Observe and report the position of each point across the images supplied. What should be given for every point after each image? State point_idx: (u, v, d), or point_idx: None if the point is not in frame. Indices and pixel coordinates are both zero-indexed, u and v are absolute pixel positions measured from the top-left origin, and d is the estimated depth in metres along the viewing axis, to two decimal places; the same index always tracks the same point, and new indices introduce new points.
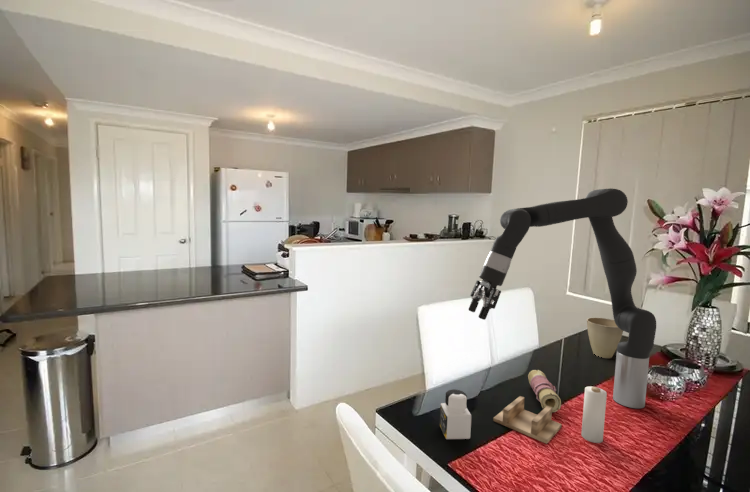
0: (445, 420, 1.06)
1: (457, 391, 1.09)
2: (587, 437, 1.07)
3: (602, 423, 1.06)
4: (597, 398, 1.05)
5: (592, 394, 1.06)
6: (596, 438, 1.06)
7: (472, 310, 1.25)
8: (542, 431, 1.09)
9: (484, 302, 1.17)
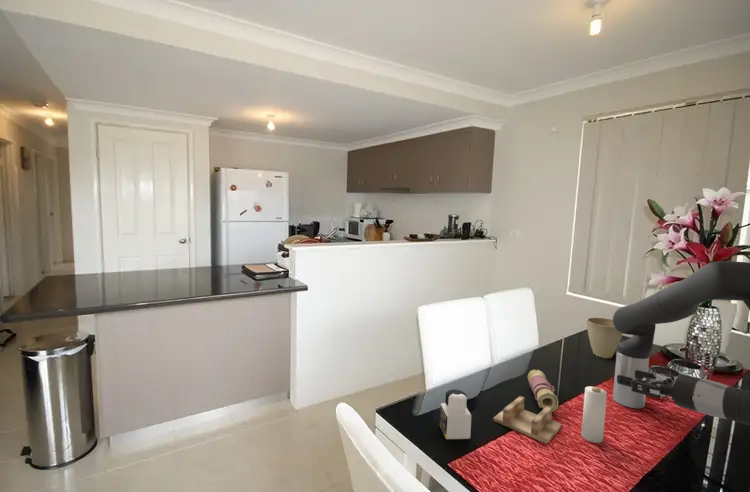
0: (445, 420, 1.06)
1: (457, 391, 1.09)
2: (587, 437, 1.07)
3: (602, 423, 1.06)
4: (598, 398, 1.05)
5: (592, 394, 1.06)
6: (596, 438, 1.06)
7: None
8: (542, 431, 1.09)
9: None
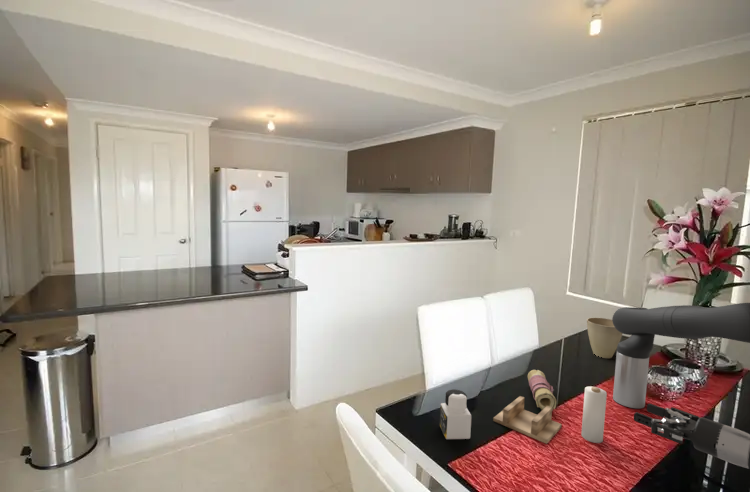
0: (445, 420, 1.06)
1: (457, 391, 1.09)
2: (587, 437, 1.07)
3: (602, 423, 1.06)
4: (597, 398, 1.05)
5: (592, 394, 1.06)
6: (596, 438, 1.06)
7: None
8: (542, 431, 1.09)
9: None
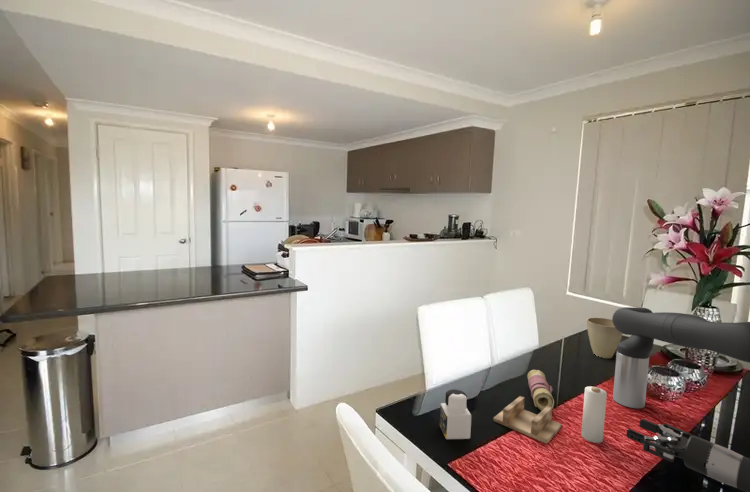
0: (445, 420, 1.06)
1: (457, 391, 1.09)
2: (587, 437, 1.07)
3: (602, 423, 1.06)
4: (597, 398, 1.05)
5: (592, 394, 1.06)
6: (596, 438, 1.06)
7: None
8: (542, 431, 1.09)
9: None
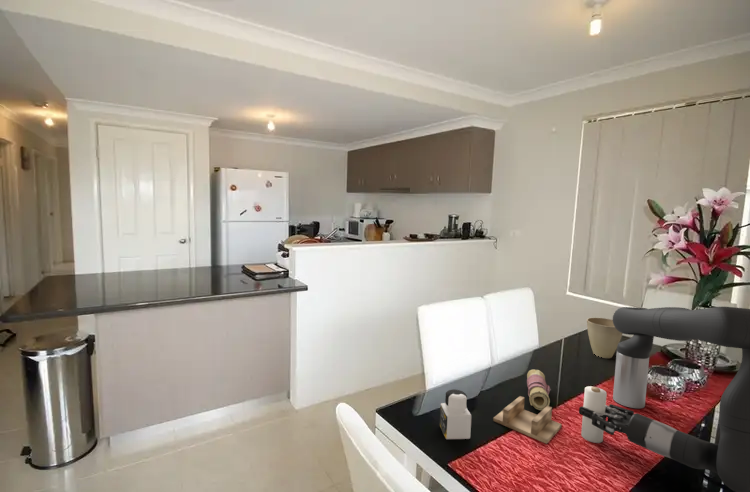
0: (445, 420, 1.06)
1: (457, 391, 1.09)
2: (587, 437, 1.07)
3: None
4: (597, 398, 1.05)
5: (592, 394, 1.06)
6: (596, 438, 1.06)
7: None
8: (542, 431, 1.09)
9: None
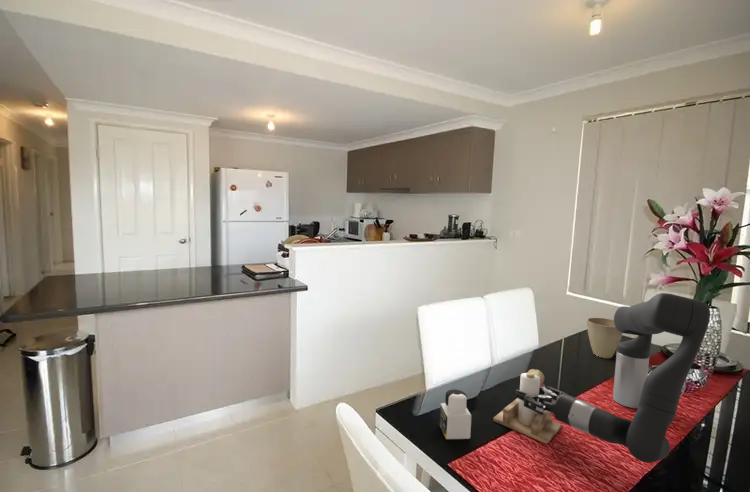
0: (445, 420, 1.06)
1: (457, 391, 1.09)
2: (522, 421, 1.13)
3: None
4: (530, 383, 1.11)
5: (526, 380, 1.12)
6: (530, 422, 1.12)
7: None
8: (542, 431, 1.09)
9: None
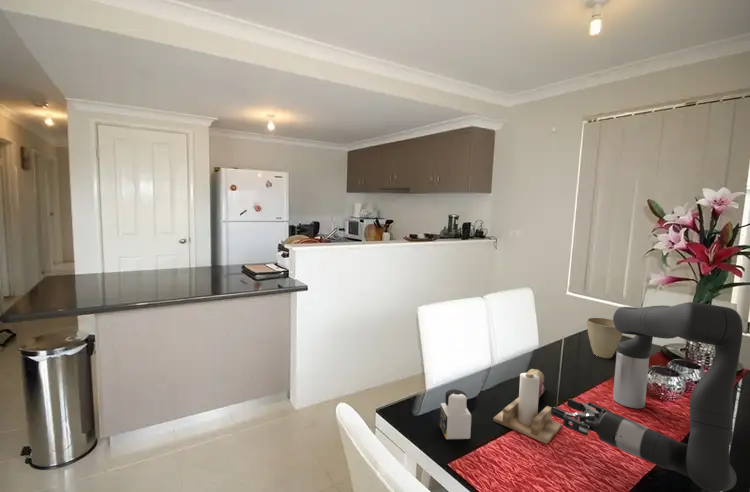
0: (445, 420, 1.06)
1: (457, 391, 1.09)
2: (522, 420, 1.13)
3: (535, 407, 1.12)
4: (530, 383, 1.11)
5: (525, 379, 1.12)
6: (530, 421, 1.12)
7: None
8: (542, 431, 1.09)
9: None
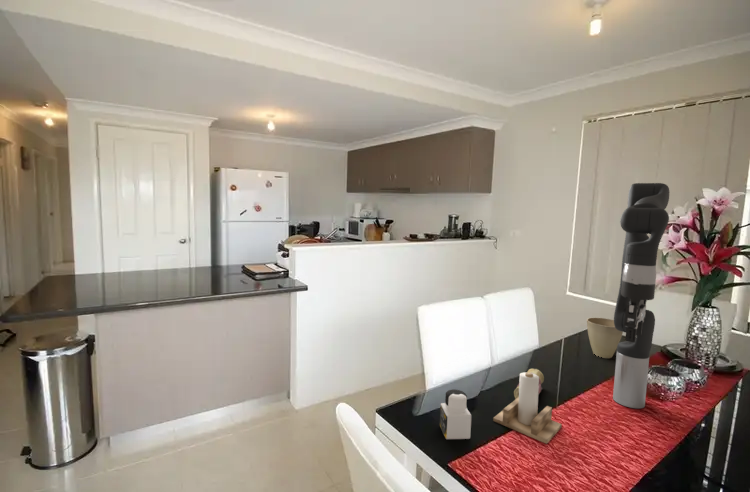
0: (445, 420, 1.06)
1: (457, 391, 1.09)
2: (522, 420, 1.13)
3: (535, 406, 1.12)
4: (530, 382, 1.11)
5: (525, 379, 1.12)
6: (530, 421, 1.12)
7: None
8: (542, 431, 1.09)
9: (643, 318, 1.07)
